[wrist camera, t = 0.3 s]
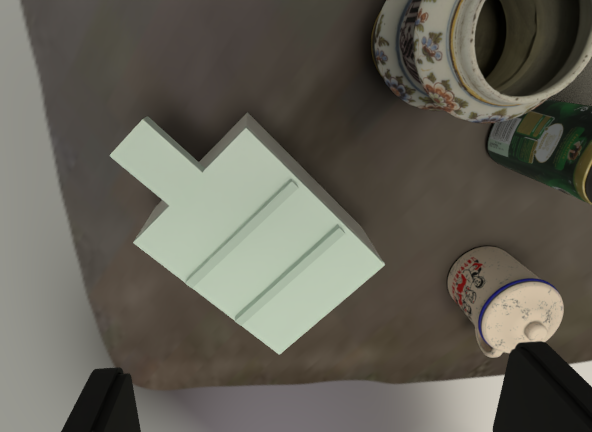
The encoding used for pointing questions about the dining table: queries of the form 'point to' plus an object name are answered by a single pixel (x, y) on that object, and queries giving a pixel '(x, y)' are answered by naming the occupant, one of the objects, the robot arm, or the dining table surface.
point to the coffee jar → (548, 146)
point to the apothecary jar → (481, 53)
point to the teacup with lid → (503, 300)
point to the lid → (246, 233)
